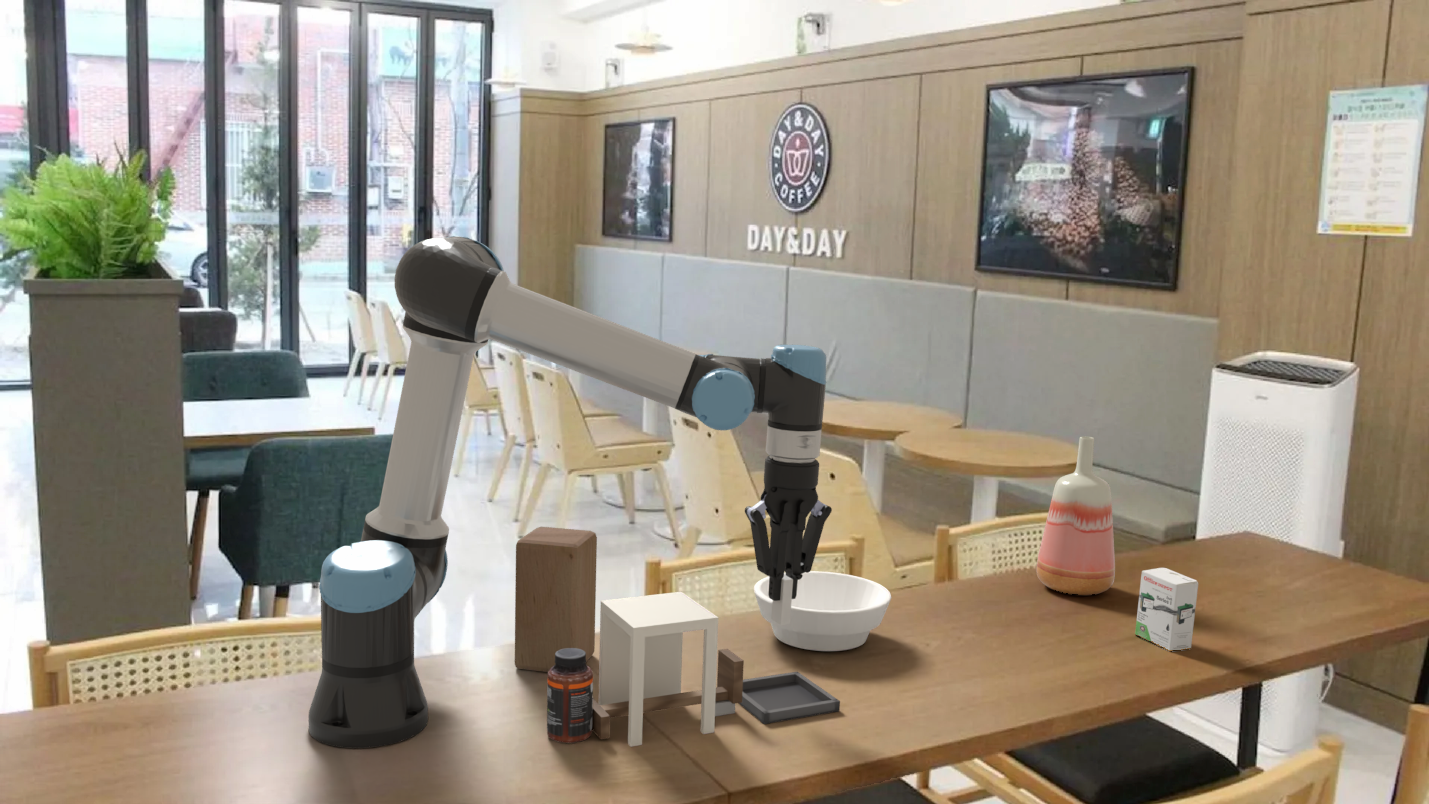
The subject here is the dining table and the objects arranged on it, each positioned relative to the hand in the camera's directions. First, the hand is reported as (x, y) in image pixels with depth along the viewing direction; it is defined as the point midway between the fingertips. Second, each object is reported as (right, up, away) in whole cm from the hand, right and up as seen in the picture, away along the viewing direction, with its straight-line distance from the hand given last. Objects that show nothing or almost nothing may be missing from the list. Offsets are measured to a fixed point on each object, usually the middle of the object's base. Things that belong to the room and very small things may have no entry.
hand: (780, 621), depth 169 cm
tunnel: (-15, -12, -6) cm, 20 cm away
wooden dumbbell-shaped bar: (-16, -12, -6) cm, 21 cm away
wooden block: (-34, -9, +14) cm, 37 cm away
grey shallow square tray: (0, -12, +2) cm, 12 cm away
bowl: (+8, -8, +29) cm, 31 cm away
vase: (+60, -5, +62) cm, 86 cm away
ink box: (+66, -10, +33) cm, 75 cm away
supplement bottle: (-28, -13, -12) cm, 33 cm away
